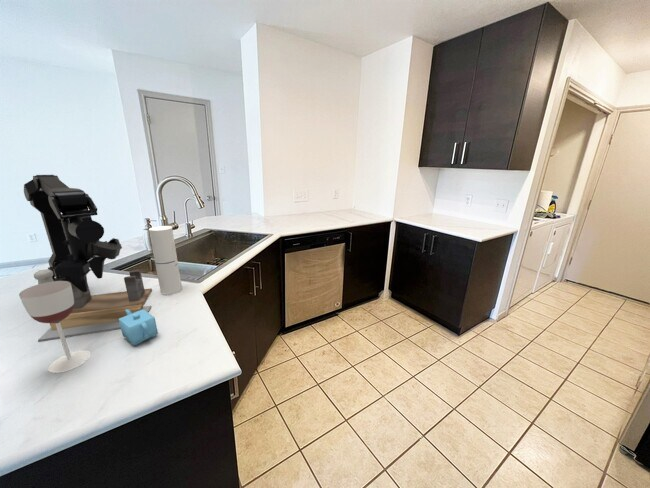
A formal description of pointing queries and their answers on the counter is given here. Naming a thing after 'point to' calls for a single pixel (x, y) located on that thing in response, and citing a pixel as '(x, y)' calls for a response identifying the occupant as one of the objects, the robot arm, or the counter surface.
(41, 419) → the counter surface
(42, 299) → the wineglass
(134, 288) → the rail stand
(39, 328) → the counter surface
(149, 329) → the light blue knobbed box
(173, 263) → the cylindrical container
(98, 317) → the oak rail
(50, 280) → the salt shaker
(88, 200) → the robot arm
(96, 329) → the grey mat
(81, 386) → the counter surface
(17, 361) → the counter surface
